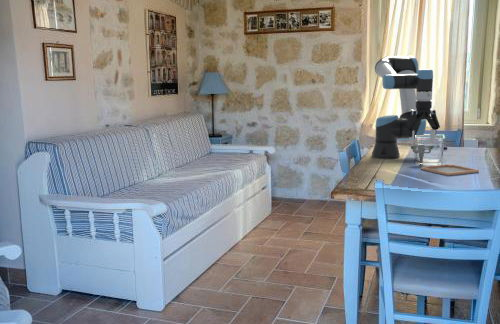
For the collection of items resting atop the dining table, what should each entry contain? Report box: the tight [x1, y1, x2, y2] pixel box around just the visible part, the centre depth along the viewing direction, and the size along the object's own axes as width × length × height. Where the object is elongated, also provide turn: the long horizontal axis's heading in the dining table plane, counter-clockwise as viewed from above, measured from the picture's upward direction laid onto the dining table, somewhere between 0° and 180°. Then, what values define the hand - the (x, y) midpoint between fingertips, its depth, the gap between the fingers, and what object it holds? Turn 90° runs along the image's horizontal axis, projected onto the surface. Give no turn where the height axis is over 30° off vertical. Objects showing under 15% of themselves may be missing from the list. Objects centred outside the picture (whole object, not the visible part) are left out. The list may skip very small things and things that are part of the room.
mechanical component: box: [410, 144, 433, 163], centre depth 245 cm, size 3×10×10 cm, turn 78°
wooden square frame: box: [420, 163, 480, 177], centre depth 228 cm, size 18×18×1 cm
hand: (422, 142), depth 243 cm, fingers open, 13 cm apart
